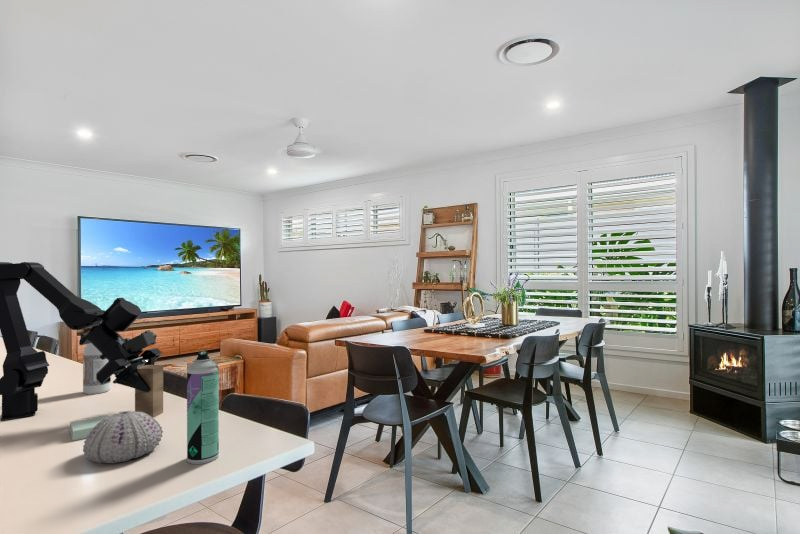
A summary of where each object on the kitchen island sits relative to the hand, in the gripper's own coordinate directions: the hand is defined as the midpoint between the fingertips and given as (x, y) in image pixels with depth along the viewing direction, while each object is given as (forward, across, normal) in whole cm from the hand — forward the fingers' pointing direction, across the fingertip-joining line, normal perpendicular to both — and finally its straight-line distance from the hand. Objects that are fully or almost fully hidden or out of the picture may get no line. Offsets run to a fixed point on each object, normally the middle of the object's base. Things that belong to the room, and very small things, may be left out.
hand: (154, 388), depth 112 cm
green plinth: (0, -12, +10) cm, 15 cm away
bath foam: (-17, +23, +27) cm, 39 cm away
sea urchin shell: (+10, -24, 0) cm, 26 cm away
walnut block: (+4, 0, +6) cm, 7 cm away
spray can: (+22, -27, -12) cm, 37 cm away
